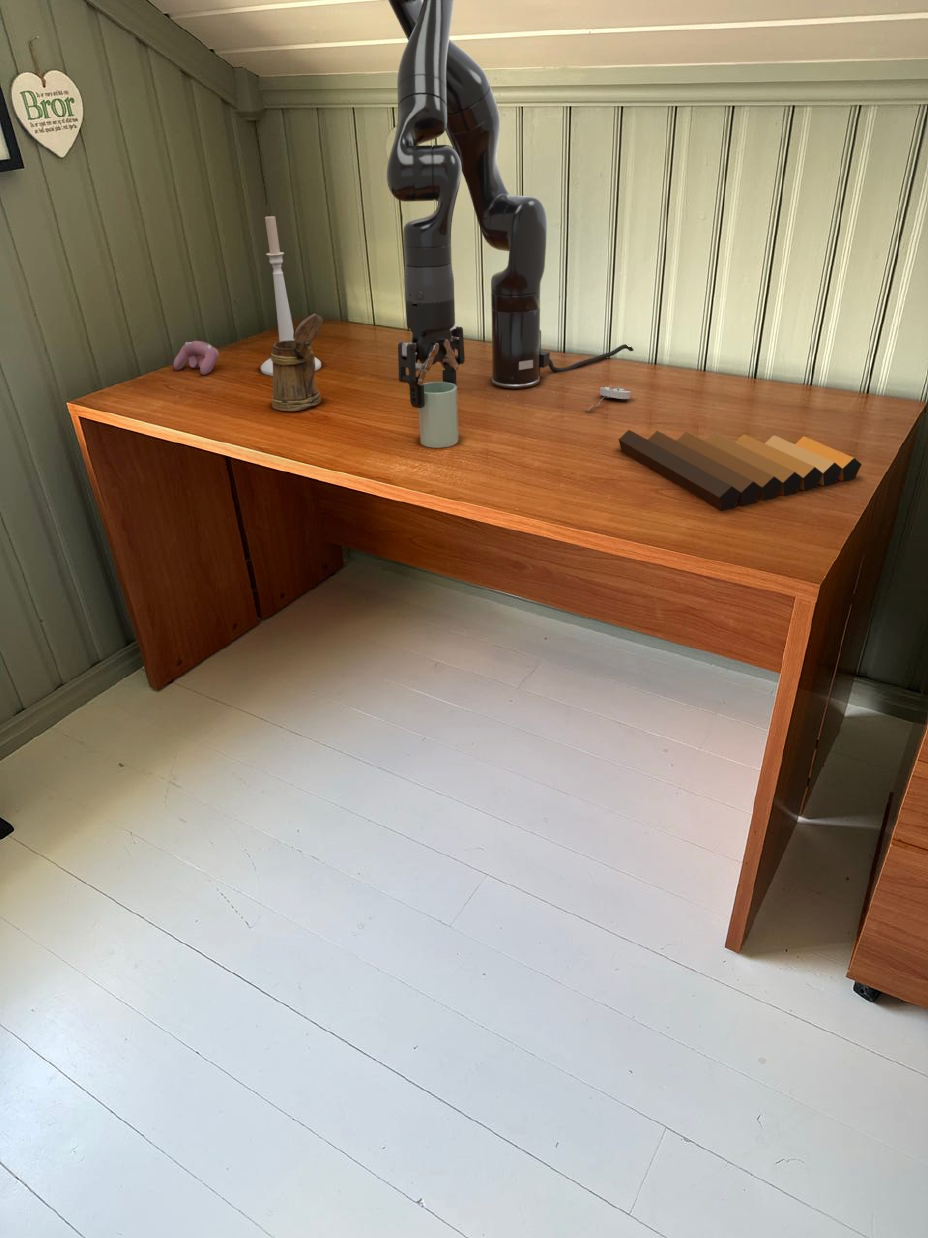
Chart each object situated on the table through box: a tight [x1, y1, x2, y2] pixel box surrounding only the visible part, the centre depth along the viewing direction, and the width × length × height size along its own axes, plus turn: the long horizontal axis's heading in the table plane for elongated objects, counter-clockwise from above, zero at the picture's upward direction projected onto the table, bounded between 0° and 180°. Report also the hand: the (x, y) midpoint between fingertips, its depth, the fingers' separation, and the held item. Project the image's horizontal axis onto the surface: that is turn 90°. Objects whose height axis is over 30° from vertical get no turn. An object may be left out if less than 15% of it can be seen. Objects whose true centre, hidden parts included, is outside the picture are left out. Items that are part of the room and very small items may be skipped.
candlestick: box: [260, 214, 322, 377], centre depth 173 cm, size 13×13×30 cm
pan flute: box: [618, 429, 862, 512], centre depth 127 cm, size 25×3×25 cm
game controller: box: [587, 384, 632, 413], centre depth 153 cm, size 6×12×3 cm, turn 158°
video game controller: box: [172, 340, 220, 376], centre depth 180 cm, size 10×5×7 cm, turn 58°
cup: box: [417, 381, 460, 449], centre depth 138 cm, size 6×6×9 cm
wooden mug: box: [270, 311, 324, 412], centre depth 153 cm, size 9×14×18 cm, turn 47°
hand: (434, 400), depth 137 cm, fingers open, 8 cm apart
